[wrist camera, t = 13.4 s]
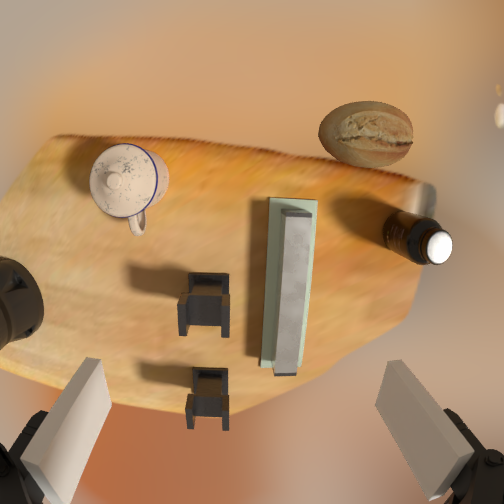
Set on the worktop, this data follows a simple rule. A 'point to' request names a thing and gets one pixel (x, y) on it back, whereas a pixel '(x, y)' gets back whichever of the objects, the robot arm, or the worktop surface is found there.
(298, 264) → the rail
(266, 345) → the mat
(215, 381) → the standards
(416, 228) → the supplement bottle
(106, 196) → the teacup with lid
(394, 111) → the bread roll
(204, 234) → the worktop surface
